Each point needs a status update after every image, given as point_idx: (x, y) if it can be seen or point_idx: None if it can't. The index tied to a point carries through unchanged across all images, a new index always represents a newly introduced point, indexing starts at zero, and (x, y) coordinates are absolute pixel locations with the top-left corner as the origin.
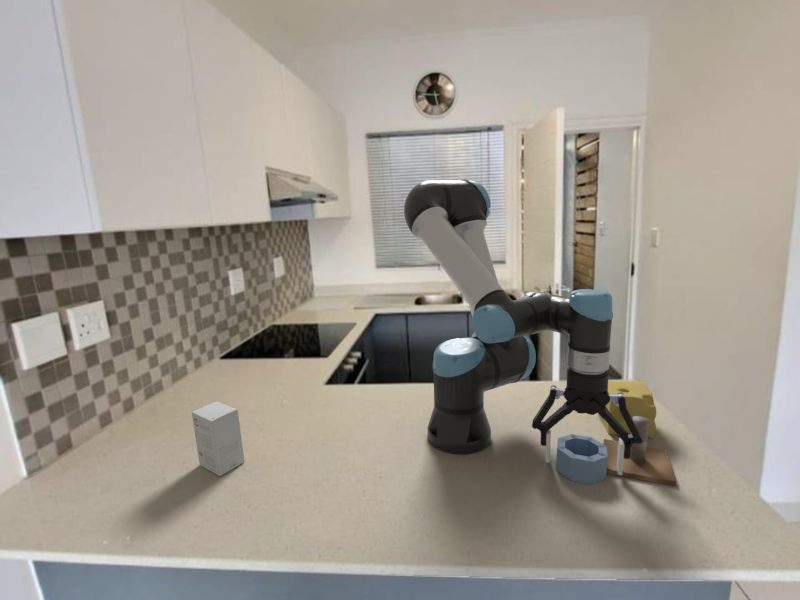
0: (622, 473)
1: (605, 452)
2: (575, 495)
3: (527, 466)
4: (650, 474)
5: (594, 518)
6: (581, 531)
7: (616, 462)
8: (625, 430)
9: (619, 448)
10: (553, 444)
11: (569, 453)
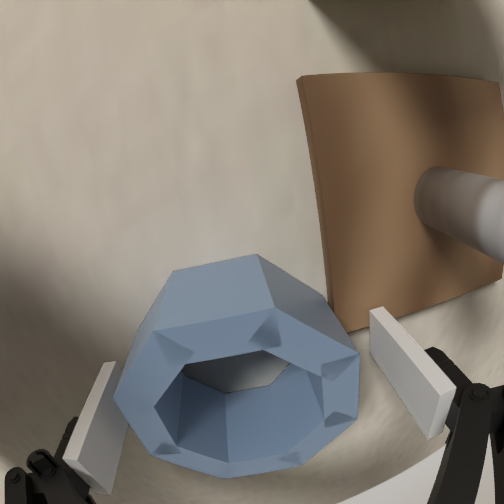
0: None
1: (351, 402)
2: None
3: None
4: (459, 284)
5: (301, 472)
6: (280, 496)
7: (370, 272)
8: (488, 425)
9: (417, 410)
10: (82, 226)
11: (209, 467)
